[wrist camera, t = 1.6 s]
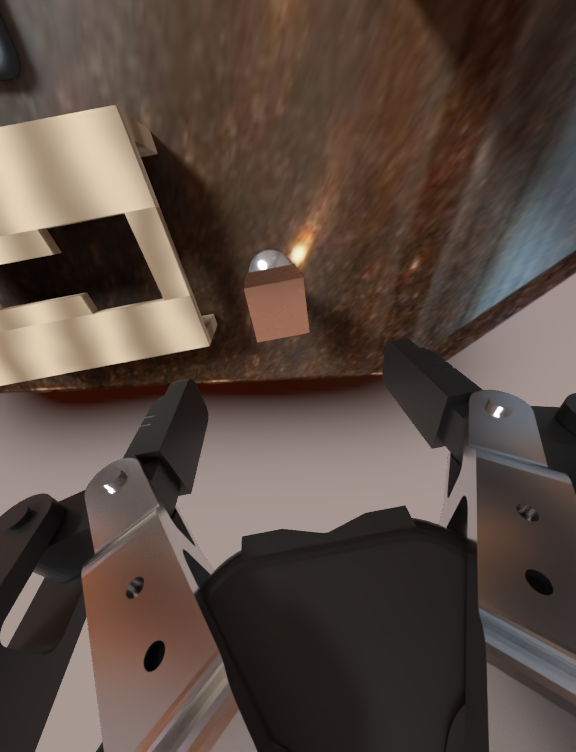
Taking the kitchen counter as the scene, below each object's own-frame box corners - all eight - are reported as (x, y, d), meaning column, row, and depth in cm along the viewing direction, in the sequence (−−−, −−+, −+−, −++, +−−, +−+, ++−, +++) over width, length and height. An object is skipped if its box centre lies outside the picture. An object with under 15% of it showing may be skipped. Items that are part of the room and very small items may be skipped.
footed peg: (288, 244, 26) (309, 267, 15) (294, 290, 29) (316, 337, 18) (244, 253, 26) (234, 282, 15) (254, 297, 29) (252, 349, 18)
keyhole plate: (149, 130, 20) (115, 104, 16) (217, 324, 31) (209, 346, 26) (-123, 183, 21) (-243, 173, 16) (36, 359, 31) (-6, 386, 26)
